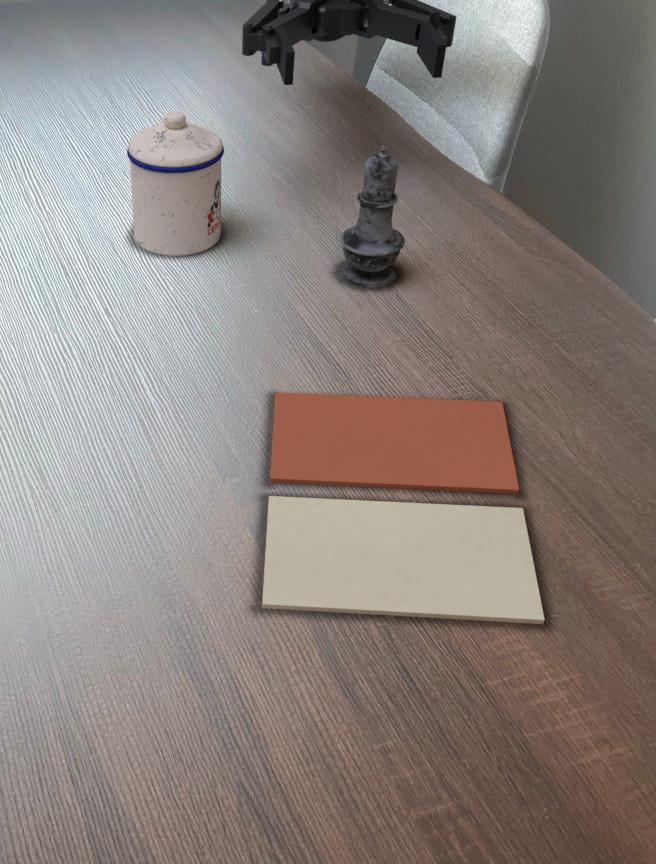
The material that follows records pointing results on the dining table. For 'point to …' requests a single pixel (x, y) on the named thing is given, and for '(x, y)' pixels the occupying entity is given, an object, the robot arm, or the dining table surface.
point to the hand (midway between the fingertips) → (365, 65)
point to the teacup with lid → (176, 186)
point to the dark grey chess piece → (374, 227)
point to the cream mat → (400, 560)
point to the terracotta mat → (392, 443)
